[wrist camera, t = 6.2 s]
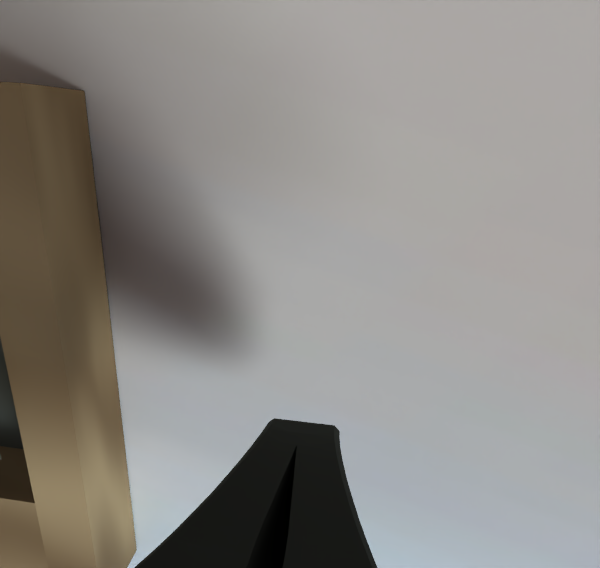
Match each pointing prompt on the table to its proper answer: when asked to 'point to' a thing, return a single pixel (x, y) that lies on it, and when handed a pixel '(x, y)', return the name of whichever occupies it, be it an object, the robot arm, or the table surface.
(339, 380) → the table surface
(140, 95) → the table surface
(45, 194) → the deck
